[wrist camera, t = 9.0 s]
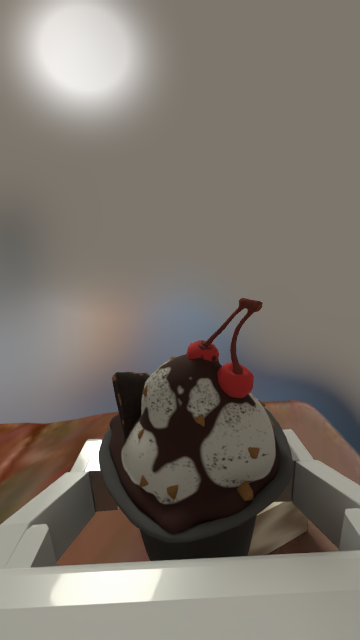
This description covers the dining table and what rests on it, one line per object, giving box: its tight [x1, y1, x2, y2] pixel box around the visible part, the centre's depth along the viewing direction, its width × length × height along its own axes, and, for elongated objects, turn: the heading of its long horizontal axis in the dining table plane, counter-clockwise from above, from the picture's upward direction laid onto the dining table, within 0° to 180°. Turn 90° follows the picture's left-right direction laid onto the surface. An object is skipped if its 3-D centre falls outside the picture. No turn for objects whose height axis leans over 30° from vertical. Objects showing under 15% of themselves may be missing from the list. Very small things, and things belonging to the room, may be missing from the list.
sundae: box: [98, 298, 293, 561], centre depth 9 cm, size 7×7×15 cm
